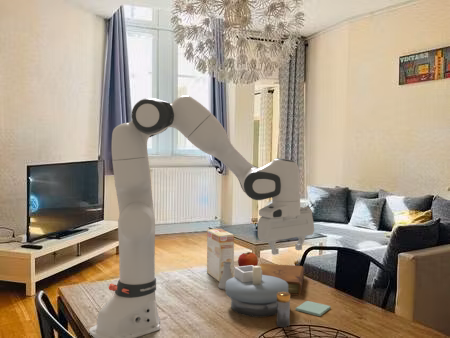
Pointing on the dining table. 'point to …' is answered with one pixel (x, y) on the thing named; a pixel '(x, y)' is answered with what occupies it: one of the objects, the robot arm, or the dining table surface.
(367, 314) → the dining table surface
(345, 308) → the dining table surface
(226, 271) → the flask
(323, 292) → the dining table surface
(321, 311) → the mat
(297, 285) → the diary
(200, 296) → the dining table surface
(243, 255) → the tomato
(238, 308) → the base
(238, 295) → the dial
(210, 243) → the coffeecake box
